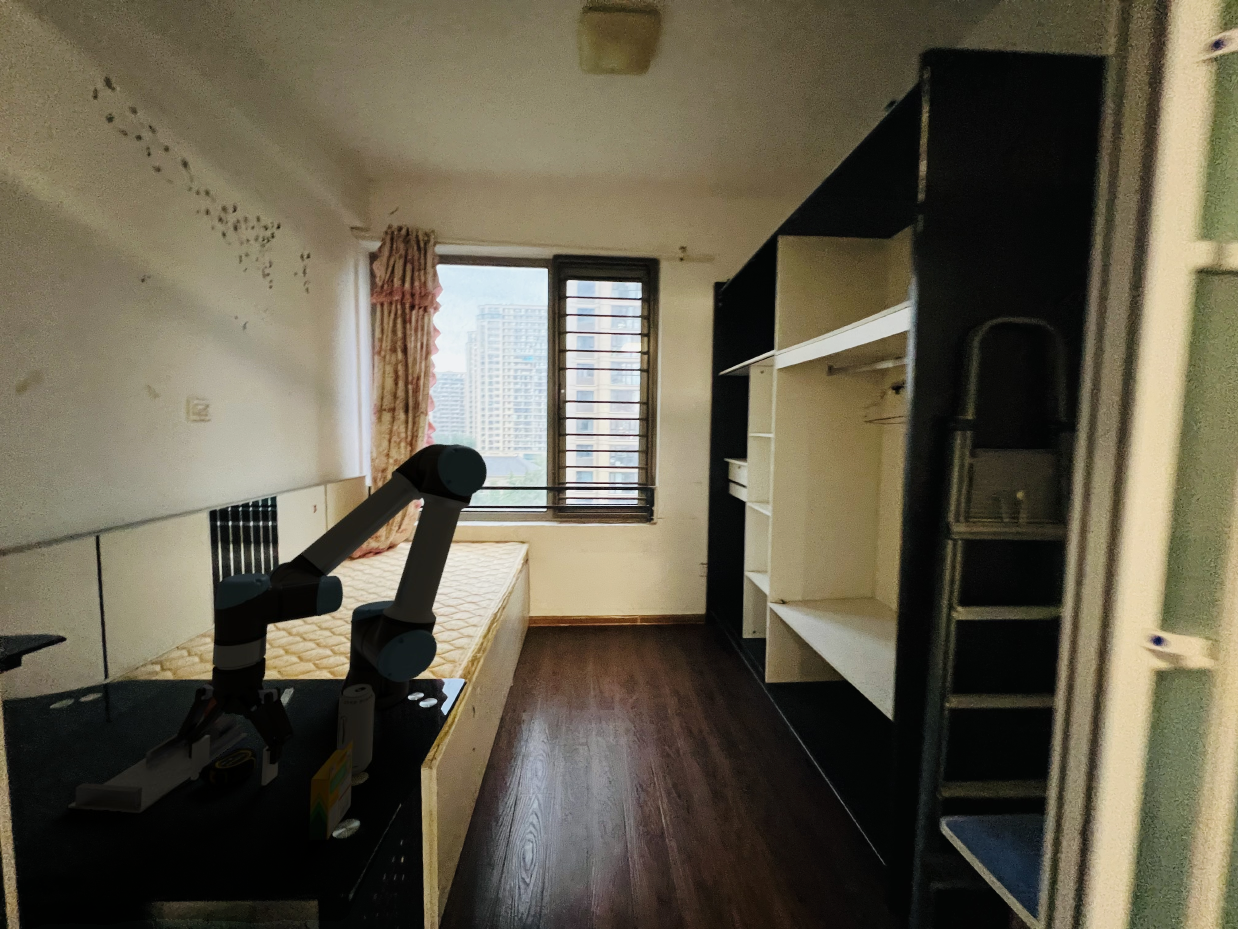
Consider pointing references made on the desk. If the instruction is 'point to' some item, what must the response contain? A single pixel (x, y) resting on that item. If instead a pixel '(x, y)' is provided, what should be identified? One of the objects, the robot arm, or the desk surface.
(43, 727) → the desk surface
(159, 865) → the desk surface
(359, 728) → the energy drink can
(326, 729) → the desk surface
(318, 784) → the crayon box
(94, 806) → the press bed
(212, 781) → the tape measure
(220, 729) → the ram
